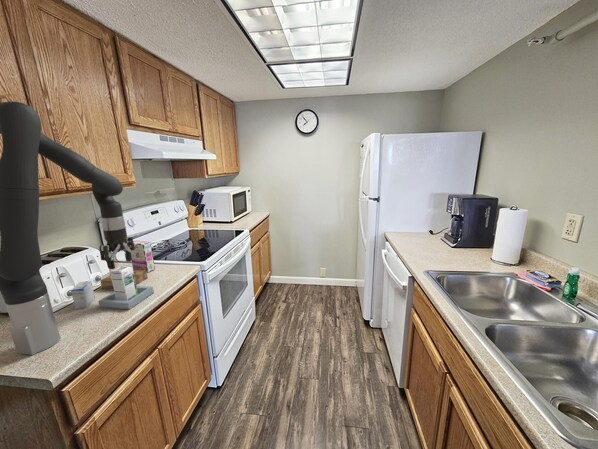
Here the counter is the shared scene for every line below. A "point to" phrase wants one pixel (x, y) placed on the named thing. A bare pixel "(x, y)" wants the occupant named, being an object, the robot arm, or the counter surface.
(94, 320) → the counter surface
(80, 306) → the medicine box
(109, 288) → the socket collar
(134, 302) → the tray
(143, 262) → the candy bar box
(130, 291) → the syrup box
